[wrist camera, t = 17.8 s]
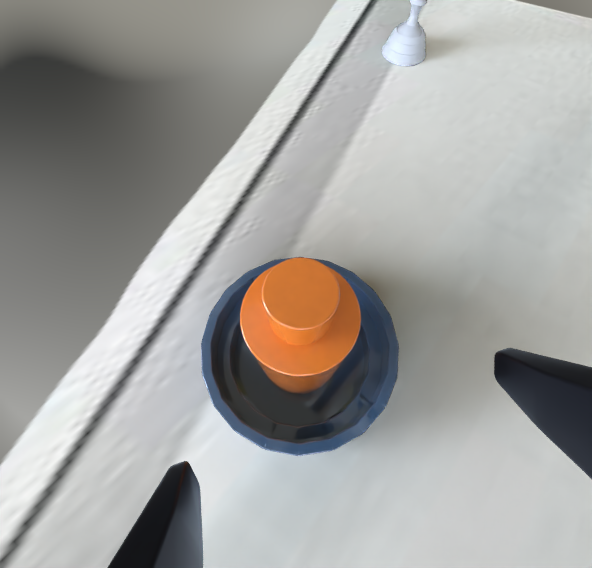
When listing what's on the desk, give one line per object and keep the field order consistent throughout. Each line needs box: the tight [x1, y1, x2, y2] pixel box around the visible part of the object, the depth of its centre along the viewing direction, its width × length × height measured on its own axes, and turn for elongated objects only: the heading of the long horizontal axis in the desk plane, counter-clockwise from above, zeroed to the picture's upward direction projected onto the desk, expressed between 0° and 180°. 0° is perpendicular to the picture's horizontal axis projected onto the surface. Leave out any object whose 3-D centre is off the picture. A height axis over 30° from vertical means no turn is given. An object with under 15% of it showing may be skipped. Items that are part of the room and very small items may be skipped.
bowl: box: [201, 257, 399, 456], centre depth 21 cm, size 12×12×4 cm
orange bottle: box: [240, 257, 361, 395], centre depth 17 cm, size 5×5×12 cm
